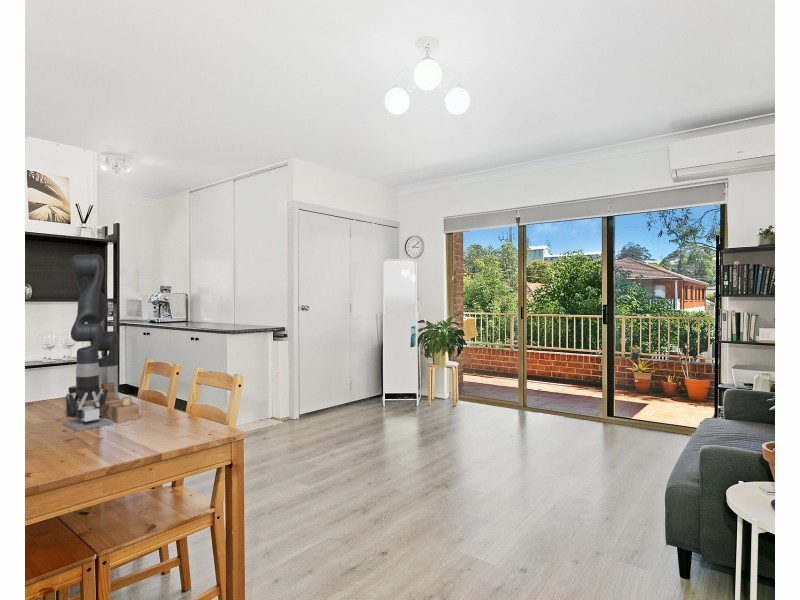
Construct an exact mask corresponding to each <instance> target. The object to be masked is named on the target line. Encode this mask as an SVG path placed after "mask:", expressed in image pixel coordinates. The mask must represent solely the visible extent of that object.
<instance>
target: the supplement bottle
mask: <svg viewBox="0 0 800 600" xmlns="http://www.w3.org/2000/svg"><path fill="white" fill-rule="evenodd" d="M75 391H76V385H75V386H74V385H73V386H69V387H68V394H72V393H75ZM77 401H78V397H77V396H76V395H75V398H74V402H75V405H77ZM82 407H86V401H85V402H84V404H83V406H82ZM65 416H66V417H67V416H68V417H67V418H72V417H73V418H75V417H74V416H76V410H75V409H71V408H70V406H69V402H68V399H67V394H66V395H65Z"/></svg>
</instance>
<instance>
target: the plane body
mask: <svg viewBox="0 0 800 600" xmlns="http://www.w3.org/2000/svg"><path fill="white" fill-rule="evenodd" d="M101 389H107V390H108V392H107V396H106V400H105V404H102V405H100V407H99V416H101V417H100V418H102V417H104V418H103V419H105V418H106V419H105V420H108V419H109V420H108V421H110V420H111V421H110V422H113V421H114V422H113V423H116V424H121V422H122V423H125V422H124V421H127V422H130V421H129V420H132V421H135V419H137V420H139V419H140V418H139V417H140V415H139V414H140V410H139V409H140V408H139V407H140V405H139V404H138V403H135V402H132V397H129V396H127V397H121V398H120V397H118V398H115V383H112V382H110V383H103V384H101ZM98 402H99V401H98Z"/></svg>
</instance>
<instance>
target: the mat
mask: <svg viewBox="0 0 800 600" xmlns="http://www.w3.org/2000/svg"><path fill="white" fill-rule="evenodd" d="M113 423H114V422H113V421H110V420H108V419H105V418H102V417H99V419H96V420H91V421H86V422H85V421H82V420H79V419H78V420H73V421H67V422H63V423H62V425H63V426H64V425H65V426H64V427H66V426H67V427H66V428H68V427H69V429H71V430H73V429H74V430H73V431H75V430H76V432H82V431H81V430H83V431H86V430H85V429H88V430H91V429H90V428H93V429H96V428H95V427H98V428H101V427H100V426H103V427H106V426H105V425H107V426H111V425H110V424H112V425H113Z"/></svg>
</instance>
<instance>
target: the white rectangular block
mask: <svg viewBox="0 0 800 600" xmlns="http://www.w3.org/2000/svg"><path fill="white" fill-rule="evenodd" d="M81 410H82V419H81V420H82V421H85V422H86V421H91V420H96V419H99V418H100V417H99V408H96V407H95V406H94V405H87V406H86V405H85V407H82V408H81ZM76 419H78V418H76ZM78 420H79V419H78Z"/></svg>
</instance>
